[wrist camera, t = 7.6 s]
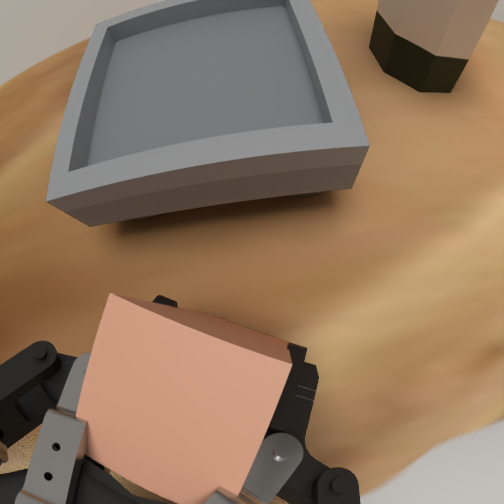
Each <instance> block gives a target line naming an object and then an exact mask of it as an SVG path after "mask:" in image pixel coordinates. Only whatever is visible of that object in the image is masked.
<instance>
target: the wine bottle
mask: <svg viewBox="0 0 504 504" xmlns="http://www.w3.org/2000/svg"><path fill="white" fill-rule="evenodd" d="M497 2H498V0H379V2H378V7H377V12H376V17H375V22H374V26H373V31H372V36H371V40H370V45H369V48H370V50H371V51H372V53H373V54H374V56H375V58H376V59H377V61H378V63H379V64H380V66H381V68H382V70H383V71H384V72H385V73H387V74H389V75H391V76H393V77H394V78H396V79H398V80H400V81H402V82H403V83H405V84H407V85H409V86H410V87H412V88H414V89H415V90H417V91H419V92H445V93H450V92H451V91H452V89H453V87H454V85H455V84H456V82H457V80H458V78H459V77H460V75H461V73H462V71H463V69H464V67H465V66H466V64H467V62H468V60H469V58H470V56H471V55H472V53H473V51H474V49H475V47H476V45H477V43H478V41H479V39H480V37H481V35H482V33H483V31H484V29H485V27H486V25H487V23H488V21H489V19H490V17H491V15H492V13H493V11H494V9H495V6H496V4H497Z"/></svg>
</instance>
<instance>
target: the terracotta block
mask: <svg viewBox="0 0 504 504" xmlns="http://www.w3.org/2000/svg"><path fill="white" fill-rule="evenodd" d="M287 346H288V343H287V341H285V340H282V339H279V338H276V337H273V336H270V335H267V334H264V333H261V332H258V331H255V330H252V329H249V328H246V327H243V326H241V325H238V324H235V323H232V322H229V321H227V320H224V319H221V318H219V317H216V316H213V315H210V314H208V313H204V312H199V311H194V310H188V309H183V308H178V307H172V306H168V305H163V304H158V303H154V302H149V301H144V300H140V299H135V298H131V297H126V296H122V295H118V294H113V293H110V294H109V297H108V300H107V303H106V306H105V309H104V312H103V315H102V318H101V322H100V325H99V328H98V331H97V335H96V338H95V341H94V345H93V348H92V352H91V355H90V359H89V363H88V366H87V370H86V374H85V378H84V382H83V386H82V390H81V394H80V398H79V403H78V407H77V412H76V416H77V417H79V418H82V419H84V420H86V421H87V433H88V450H87V451H86V452H85V454H86V455H87V456H89V457H90V458H92V459H94V460H95V461H97V462H98V463H100V464H102V465H103V466H105V467H106V468H108V469H110V470H112V471H113V472H115V473H117V474H118V475H120V476H122V477H124V478H126V479H127V480H129V481H131V482H133V483H135V484H137V485H139V486H141V487H143V488H145V489H147V490H149V491H151V492H153V493H155V494H157V495H159V496H161V497H163V498H165V499H168V500H170V501H172V502H174V503H177V504H204V503H205V502H206V501H207V500H208V499H209V498H210V497H211V496H212V495H213V494H214V493H215V492H216V491H217V490H218V489H219V488H220V487H223V488H225V489H226V490H228V491H230V492H232V493H234V494H236V495H238V494H239V492H240V490H241V488H242V486H243V484H244V482H245V479H246V477H247V475H248V473H249V470H250V468H251V466H252V464H253V461H254V459H255V457H256V455H257V452H258V450H259V448H260V445H261V443H262V441H263V438H264V436H265V433H266V431H267V429H268V426H269V424H270V421H271V419H272V416H273V414H274V411H275V409H276V406H277V404H278V401H279V399H280V396H281V393H282V391H283V388H284V386H285V383H286V380H287V378H288V375H289V372H290V370H291V367H292V361H291V356H290V352H289V350H288V349H287Z"/></svg>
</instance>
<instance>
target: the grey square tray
mask: <svg viewBox="0 0 504 504" xmlns="http://www.w3.org/2000/svg"><path fill="white" fill-rule="evenodd" d="M368 148H369V142H368V139H367V136H366V133H365V130H364V127H363V124H362V121H361V118H360V115H359V113H358V110H357V107H356V104H355V101H354V99H353V96H352V93H351V91H350V88H349V86H348V83H347V80H346V78H345V75H344V73H343V71H342V68H341V66H340V63H339V61H338V59H337V56H336V54H335V52H334V49H333V47H332V45H331V43H330V40H329V38H328V36H327V34H326V32H325V30H324V28H323V26H322V23H321V21H320V19H319V17H318V15H317V13H316V11H315V9H314V7H313V5H312V4H311V2H310V0H166V1H162V2H159V3H155V4H152V5H149V6H145V7H143V8H139V9H136V10H133V11H130V12H127V13H125V14H122V15H119V16H116V17H114V18H111V19H109V20H106V21H104V22H101V23H98V24H96V26H95V29H94V31H93V33H92V35H91V38H90V40H89V43H88V45H87V48H86V50H85V53H84V55H83V58H82V61H81V63H80V66H79V69H78V72H77V74H76V77H75V80H74V83H73V86H72V89H71V92H70V96H69V99H68V102H67V106H66V109H65V113H64V116H63V120H62V124H61V128H60V132H59V136H58V140H57V144H56V149H55V153H54V158H53V163H52V168H51V174H50V179H49V185H48V192H47V198H46V202H48V203H49V204H51V205H53V206H55V207H56V208H58V209H60V210H61V211H63V212H65V213H67V214H68V215H70V216H72V217H73V218H75V219H77V220H79V221H80V222H82V223H84V224H86V225H88V226H89V227H92V226H97V225H102V224H108V223H113V222H118V221H129V222H135V221H143V220H147V219H150V218H152V217H154V216H155V215H157V214H163V213H168V212H174V211H181V210H187V209H193V208H199V207H206V206H213V205H219V204H226V203H233V202H240V201H248V200H255V199H263V198H270V197H278V196H288V197H295V198H301V197H310V196H314V195H318V194H321V193H323V192H325V191H331V190H341V189H351V188H352V186H353V184H354V181H355V179H356V177H357V174H358V172H359V170H360V167H361V165H362V163H363V160H364V158H365V155H366V153H367V151H368Z"/></svg>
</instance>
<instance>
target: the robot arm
mask: <svg viewBox="0 0 504 504" xmlns="http://www.w3.org/2000/svg"><path fill="white" fill-rule="evenodd" d="M153 302H154V303H158V304H163V305H168V306H172V307H177V302H176V301H174V300H171V299H169V298H166V297H164V296H161V295H158V296H157V297H156V298H155V299H154V300H153ZM287 349H288V350H289V352H290V356H291V361H292V367H291V370H290V372H289V375H288V378H287V380H286V383H285V386H284V388H283V391H282V393H281V396H280V399H279V401H278V404H277V406H276V409H275V411H274V414H273V416H272V419H271V421H270V424H269V426H268V429H267V431H266V433H265V436H264V438H263V441H262V443H261V445H260V448H259V450H258V452H257V455H256V457H255V459H254V461H253V464H252V466H251V468H250V470H249V473H248V475H247V477H246V479H245V482H244V484H243V486H242V488H241V490H240V492H239V494H238V495H236V494H234V493H232V492H230V491H228V490H226V489H225V488H223V487H220V488H219V489H218V490H217V491H216V492H215V493H214V494H213V495H212V496H211V497H210V498H209V499H208V500H207V501H206V502H205V503H204V504H269V503H270V502H271V500H272V499H273V498H274V497H275V495H277V496H278V497H280V498H281V499H283V500H285V501H286V502H288V503H289V504H360V495H359V485H358V480H357V478H356V476H355V475H354V474H353V473H352V472H351V471H349V470H348V469H345V468H341V467H336V468H329V467H327V466H326V465H324V464H322V463H321V462H319V461H317V460H316V459H314V458H313V457H312V456H311V455H310V454H309V452H308V451H307V449H306V446H305V434H306V430H307V426H308V422H309V418H310V414H311V410H312V406H313V401H314V397H315V393H316V389H317V384H318V380H319V376H318V372H317V368H316V365H313V364H309V363H306V362H304V360H305V356H306V352H307V348H306V347H302V346H299V345H296V344H293V343H290V342H289V343H288V346H287ZM90 355H91V353H85V354H83V355H81V356H79V357H73V356H68V355H64V354H60V353H57V351H56V349H55V347H54V345H53V344H51V343H50V342H47V341H38V342H35V343H33V344H32V345H30V346H29V347H27V348H25V349H24V350H22V351H21V352H19V353H18V354H16V355H15V356H13V357H12V358H10V359H9V360H7V361H6V362H4V363H3V364H1V365H0V466H1V464H2V463H6V462H7V461H8V454H7V449H8V448H9V447H10V446H12V445H13V444H14V443H16V442H17V441H19V440H20V439H21V438H23V437H24V436H25V435H27V434H28V433H29V432H31V431H32V430H33V429H35V428H36V427H38V426H39V425H40V424H42V426H41V429H40V432H39V435H38V438H37V441H36V444H35V448H34V451H33V454H32V458H31V461H30V464H29V468H28V469H24V470H19V471H15V472H10V473H5V474H0V504H166V503H163V502H159V501H154V500H150V499H146V498H142V497H138V496H135V495H133V494H131V493H130V492H129V491H128V490H126V489H125V488H124V487H123V486H122V485H121V484H120V483H119V482H118V481H116V480H115V479H114V478H113V477H112V476H111V475H110V474H109V473H110V469H108V468H106V467H105V466H103V465H102V464H100V463H98V462H97V461H95V460H94V459H92V458H90V457H89V456H87V455H86V454H85V452H86V451H87V450H88V433H87V421H86V420H84V419H82V418H79V417H77V416H76V412H77V407H78V403H79V398H80V394H81V390H82V386H83V382H84V378H85V374H86V370H87V366H88V363H89V359H90Z"/></svg>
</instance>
